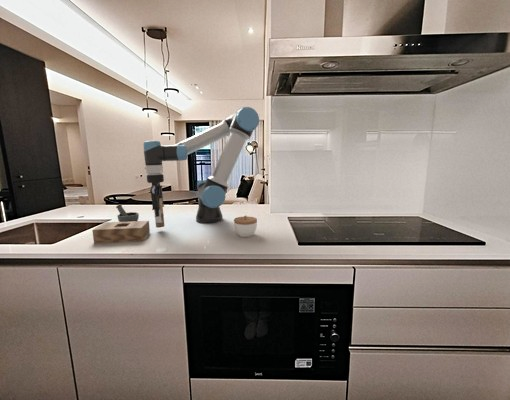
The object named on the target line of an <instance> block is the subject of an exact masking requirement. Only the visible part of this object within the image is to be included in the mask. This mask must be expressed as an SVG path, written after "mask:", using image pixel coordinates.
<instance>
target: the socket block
mask: <svg viewBox="0 0 510 400" xmlns="http://www.w3.org/2000/svg"><path fill="white" fill-rule="evenodd" d="M150 231H151V230H150V221H149V220H138V221H129V222H119V221H108V222H106V221H105V222H103V223H102V224H99V225H98V226H96V227H95V228H93V229H92V231H91V232H92V238H93V244H105V243H125V242H126V243H127V242H143V241H144V240H145V239H146V238H147V237H148V236H149V234H150V233H151V232H150Z"/></svg>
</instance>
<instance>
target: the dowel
mask: <svg viewBox="0 0 510 400" xmlns="http://www.w3.org/2000/svg"><path fill="white" fill-rule="evenodd" d="M163 205H164V204H163ZM163 205H162V198H159V206H160V210H161V220H162V222H161V223H156V222H155V227H156V228H164V227H165V218H164V207H163Z"/></svg>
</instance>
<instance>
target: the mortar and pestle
mask: <svg viewBox="0 0 510 400" xmlns="http://www.w3.org/2000/svg"><path fill="white" fill-rule="evenodd" d="M115 208H116V209H117V211H118V212H119V214H117V220H118V222H129V221H139V217H140V216H139V213H138V212H132V211H131V212H126V210H125V209H124V207H123V205H122V204H120V203H119V204H117V205H116V206H115Z"/></svg>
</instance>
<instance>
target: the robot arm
mask: <svg viewBox="0 0 510 400" xmlns="http://www.w3.org/2000/svg"><path fill="white" fill-rule="evenodd" d="M259 124H260V116H259V113H258V112H257V111H256V109H254V108H253V107H250V106H243V107H241V108H239V109H238V110H237V111H235V112H234V113H232V114H231V115H230V116H228V117H226V118H225V119H223V120H222V121H221V123H219V124H217V125H216V124H215V125H214V126H212V127H210V128H207V129H206V130H204V131H200V132H199V133H197V134H195V135H192V136H191V137H187V138H186V139H184V140H181V141H180V142H177V143H176V144H168V145H167V144H165V145H164V144H161V142H160V141H159V140H146V141H144V142H143V154H144V155H143V156H144V164H145V167H144V169H145V172H146V174H147V175H146V182H147V183H149V184H151V187H150V189H149V192H150V197H151V204H152V205H151V206H152V209H151V210H152V211H154V218H155V220H154V221H155V224H156V223H161V222H162V220H161V210H160V206H159V198H162V205H163V208H165V205H164V199H163V198H164V197H163V196H164V195H163V185H161V183H163V182H164V180H165V179H164V178H165V177H164V174H163V173H164V167H163V162H169V161H170V162H177V161H178V162H179V161H180V162H182V161H187V160H188V155H190V154H192V153H194V152H196V151H199V150H200V149H203V148H205V147H207V146H210V145H211V144H214V143H216V142H218V141H220V140H222V139H224V138H226V137H228V138H227V139H226V142H225V144H224V147H223V149H222V152H221V154H220V156H219V157H218V160H217V163H216V165H215V167H214V169H213V171H212V174H211V175H210V176H208V177H207V178H206V180H198V181H197V199H198V200H197V201H198V208H197V212H196V216H195V221H196V222H198V223H201V224H213V223H218V222H221V221H223V219H224V217H223V213H222V210H221V208H220V207H221V206H222V205H223V204H224V202H225V201H226V193H227V192H228V191H227V190H228V188H229V185H228V181H229V179H230V177H231V175H232V173H233V170H234V167H235V165H236V163H237V161H238V159H239V157H240V154H241V153H242V150H243V147H244V145H245V142H246V141H247V140H250V139H251V137H252V134H253V132H254V131H255V130H256V128H258V127H259Z"/></svg>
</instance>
